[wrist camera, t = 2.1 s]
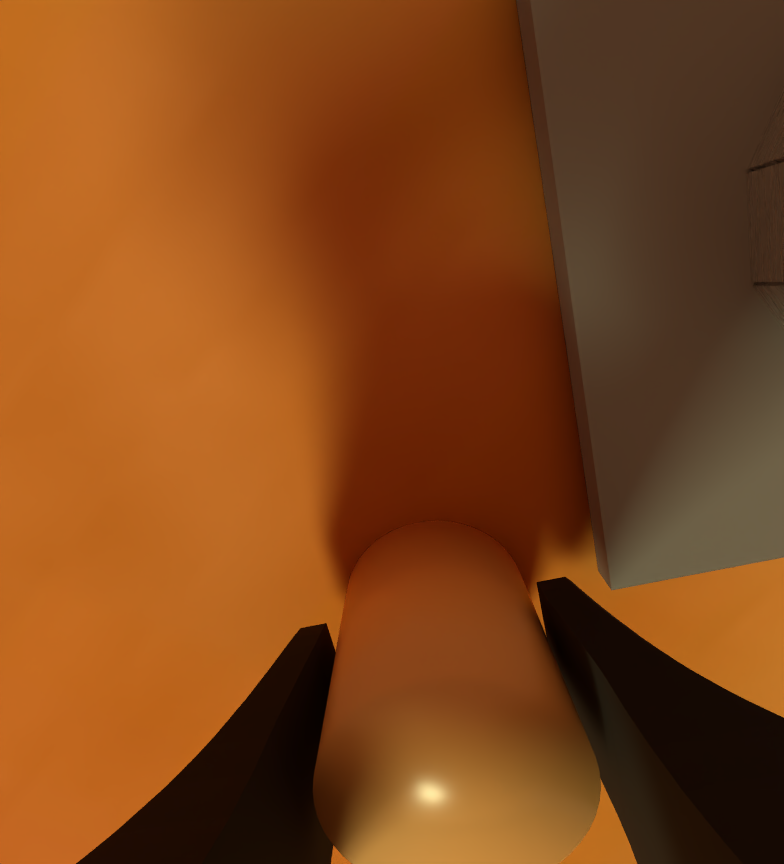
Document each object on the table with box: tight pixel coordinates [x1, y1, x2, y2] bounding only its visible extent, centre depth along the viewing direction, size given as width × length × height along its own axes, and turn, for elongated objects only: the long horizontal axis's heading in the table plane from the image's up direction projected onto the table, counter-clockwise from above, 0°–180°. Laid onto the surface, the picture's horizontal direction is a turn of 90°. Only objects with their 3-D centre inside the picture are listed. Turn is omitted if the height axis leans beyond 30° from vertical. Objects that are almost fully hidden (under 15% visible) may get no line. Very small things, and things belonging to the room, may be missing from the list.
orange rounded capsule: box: [313, 521, 601, 864], centre depth 10 cm, size 4×4×5 cm
